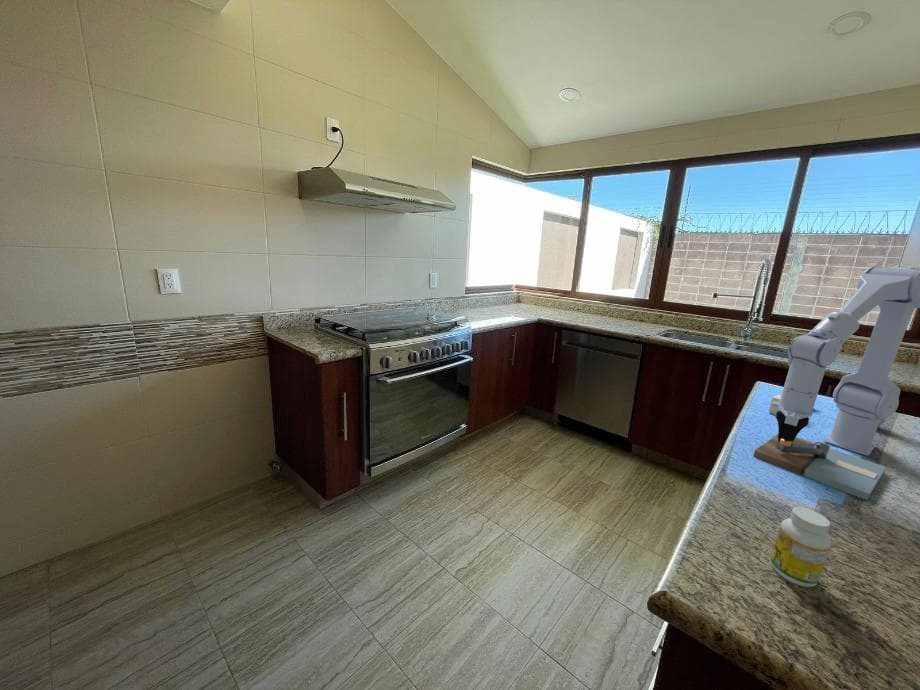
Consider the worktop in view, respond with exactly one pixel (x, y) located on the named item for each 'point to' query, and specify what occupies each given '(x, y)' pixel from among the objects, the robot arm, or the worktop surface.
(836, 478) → the door leaf
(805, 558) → the supplement bottle
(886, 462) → the worktop surface
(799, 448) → the lock bar
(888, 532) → the worktop surface
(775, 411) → the container set
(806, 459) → the jamb board
